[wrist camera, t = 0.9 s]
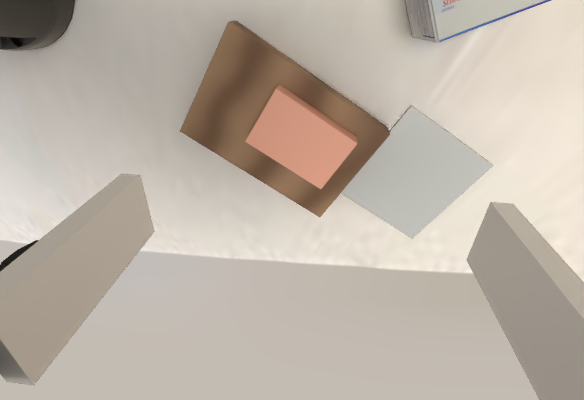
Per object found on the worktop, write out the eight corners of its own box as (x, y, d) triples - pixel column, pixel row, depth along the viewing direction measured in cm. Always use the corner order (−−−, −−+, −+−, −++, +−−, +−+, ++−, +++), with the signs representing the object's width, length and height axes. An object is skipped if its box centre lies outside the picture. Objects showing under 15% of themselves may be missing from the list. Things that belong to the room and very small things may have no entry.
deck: (189, 124, 36) (179, 131, 34) (236, 21, 30) (228, 21, 28) (321, 206, 39) (319, 217, 37) (387, 126, 33) (390, 134, 31)
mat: (339, 190, 38) (339, 192, 38) (411, 105, 32) (411, 106, 32) (411, 237, 40) (412, 238, 39) (492, 164, 34) (493, 165, 34)
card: (250, 134, 33) (245, 141, 31) (279, 84, 30) (275, 88, 28) (321, 180, 35) (320, 189, 33) (356, 136, 32) (357, 143, 30)
